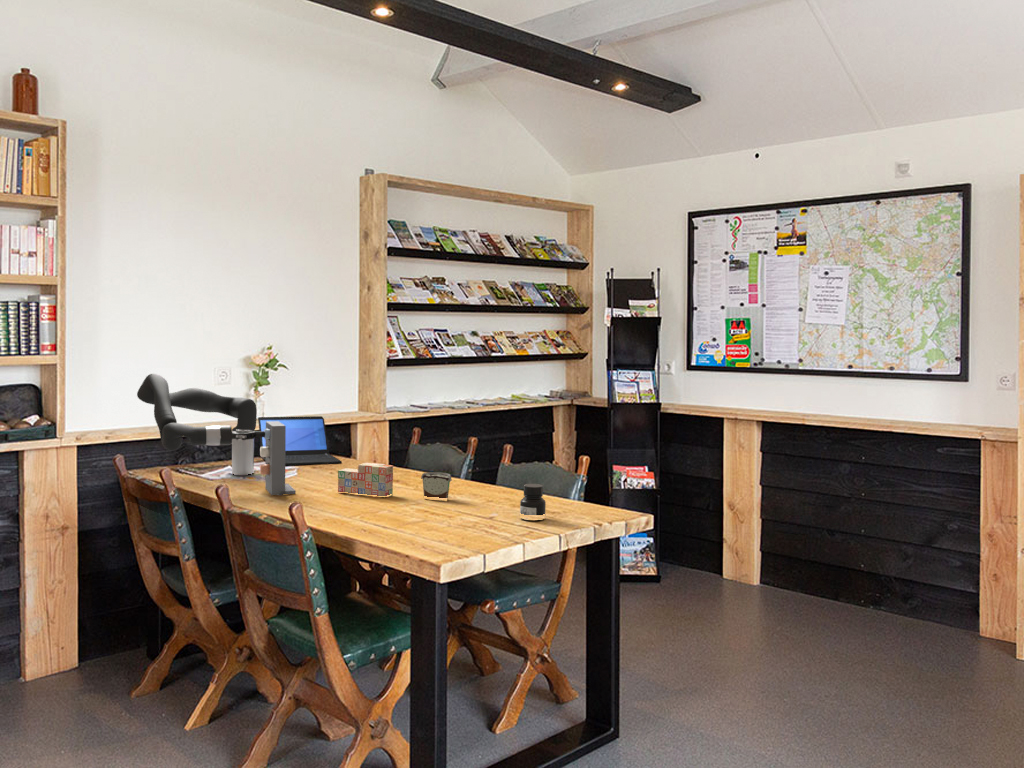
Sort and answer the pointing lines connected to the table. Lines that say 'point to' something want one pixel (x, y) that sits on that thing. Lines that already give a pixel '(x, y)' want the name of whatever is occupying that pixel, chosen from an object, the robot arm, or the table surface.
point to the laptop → (303, 440)
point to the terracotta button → (265, 469)
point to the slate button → (267, 433)
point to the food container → (436, 484)
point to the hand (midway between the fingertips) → (264, 434)
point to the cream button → (265, 451)
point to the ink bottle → (533, 500)
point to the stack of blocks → (367, 479)
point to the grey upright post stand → (277, 460)
